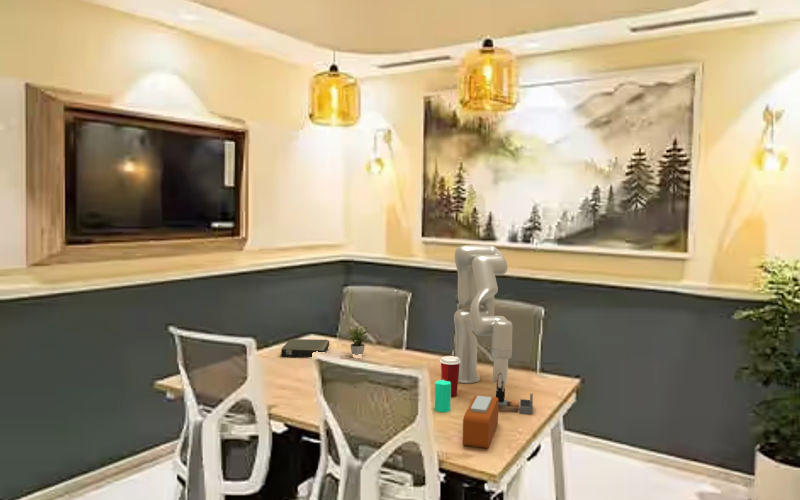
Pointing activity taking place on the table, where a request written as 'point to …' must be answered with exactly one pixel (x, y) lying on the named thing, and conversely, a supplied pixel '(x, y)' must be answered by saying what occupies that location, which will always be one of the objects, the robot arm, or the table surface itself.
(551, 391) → the table surface
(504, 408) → the frame
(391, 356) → the table surface
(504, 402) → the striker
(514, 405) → the ball
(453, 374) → the coffee cup
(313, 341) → the network switch
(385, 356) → the table surface
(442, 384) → the candle
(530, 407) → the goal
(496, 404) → the alarm clock
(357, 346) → the house plant
